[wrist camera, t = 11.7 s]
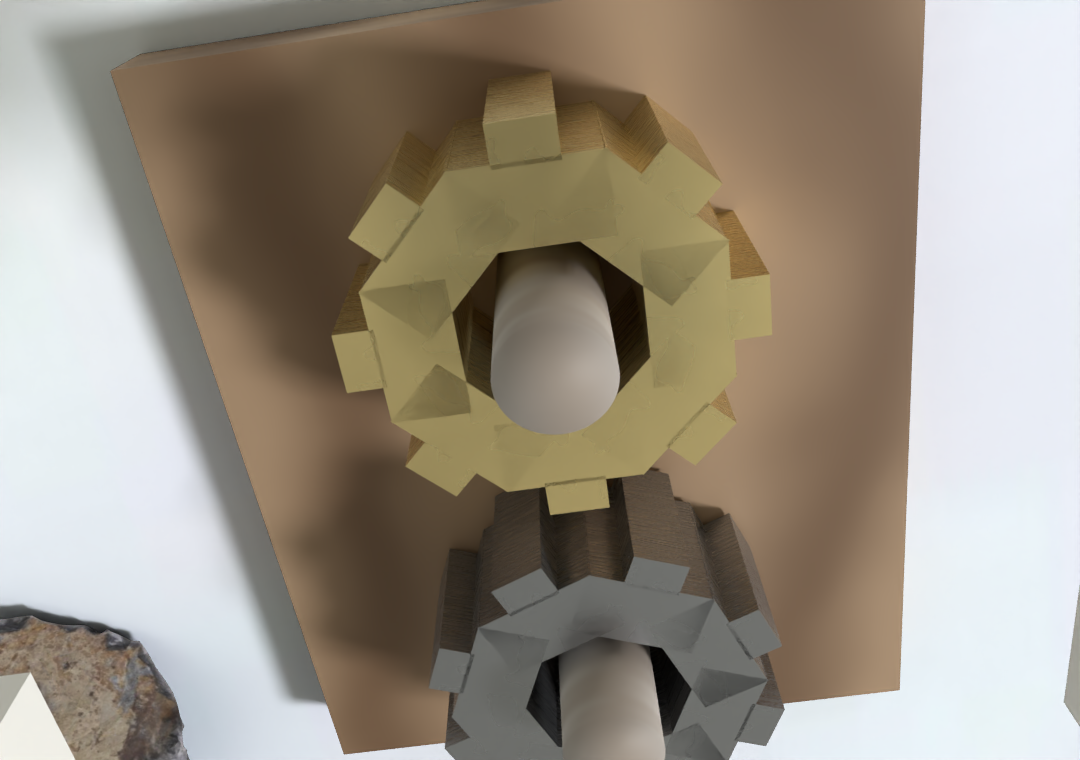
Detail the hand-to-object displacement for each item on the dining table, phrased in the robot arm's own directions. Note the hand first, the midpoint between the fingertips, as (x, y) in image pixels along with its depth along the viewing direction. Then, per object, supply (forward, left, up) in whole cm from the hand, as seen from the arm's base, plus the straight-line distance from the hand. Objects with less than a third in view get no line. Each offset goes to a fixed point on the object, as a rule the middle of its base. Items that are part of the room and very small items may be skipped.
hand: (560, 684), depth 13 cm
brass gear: (0, 0, -14) cm, 14 cm away
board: (0, -5, -16) cm, 16 cm away
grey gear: (0, -10, -13) cm, 17 cm away
